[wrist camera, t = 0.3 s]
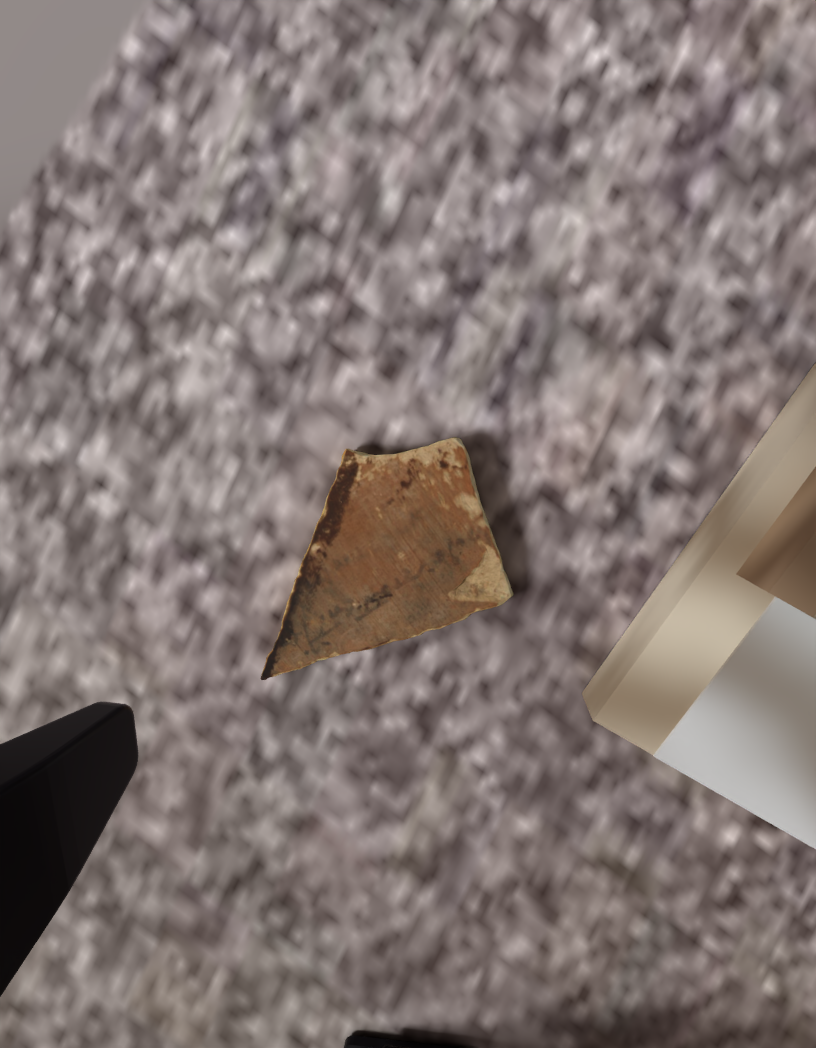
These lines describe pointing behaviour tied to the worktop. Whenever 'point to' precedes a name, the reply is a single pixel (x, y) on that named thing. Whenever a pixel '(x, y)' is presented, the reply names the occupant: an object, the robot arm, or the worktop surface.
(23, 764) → the robot arm
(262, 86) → the worktop surface
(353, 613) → the shard
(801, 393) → the beige tray
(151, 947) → the worktop surface
